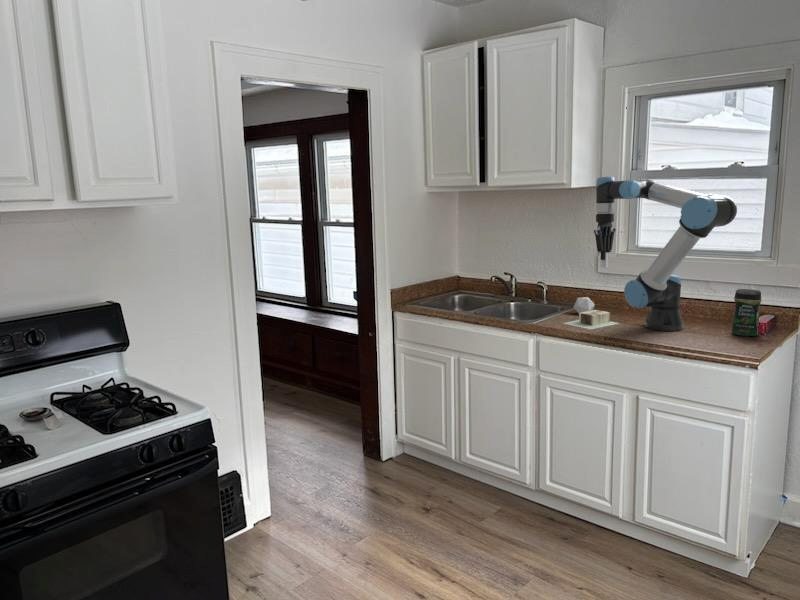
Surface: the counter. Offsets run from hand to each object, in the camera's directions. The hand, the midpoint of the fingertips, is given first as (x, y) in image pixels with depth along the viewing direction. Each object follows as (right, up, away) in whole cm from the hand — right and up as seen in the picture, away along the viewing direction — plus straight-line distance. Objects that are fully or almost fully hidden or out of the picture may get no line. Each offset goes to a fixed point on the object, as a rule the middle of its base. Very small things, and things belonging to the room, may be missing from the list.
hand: (604, 267), depth 288 cm
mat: (-5, -25, +3) cm, 26 cm away
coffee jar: (+50, -29, -23) cm, 62 cm away
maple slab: (-8, -23, 0) cm, 24 cm away
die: (-2, -21, +23) cm, 32 cm away
